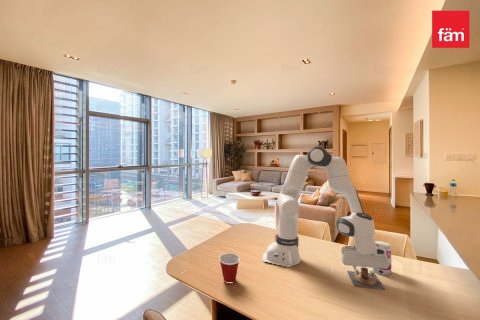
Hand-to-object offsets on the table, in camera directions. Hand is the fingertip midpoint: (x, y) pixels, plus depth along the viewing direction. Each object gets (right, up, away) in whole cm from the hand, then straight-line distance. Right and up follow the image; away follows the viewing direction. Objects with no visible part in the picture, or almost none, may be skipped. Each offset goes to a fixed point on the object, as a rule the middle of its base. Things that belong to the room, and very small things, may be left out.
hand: (364, 274), depth 106 cm
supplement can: (+13, -2, +7) cm, 15 cm away
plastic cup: (-66, -5, +2) cm, 67 cm away
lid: (0, -2, 0) cm, 2 cm away
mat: (0, -3, 0) cm, 3 cm away
